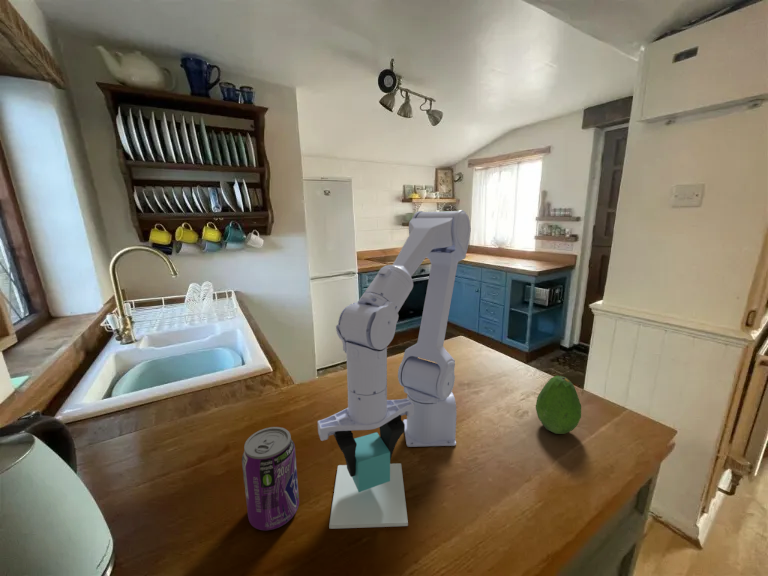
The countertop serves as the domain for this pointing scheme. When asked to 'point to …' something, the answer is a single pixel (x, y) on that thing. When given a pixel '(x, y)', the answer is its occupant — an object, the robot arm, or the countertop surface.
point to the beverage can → (270, 478)
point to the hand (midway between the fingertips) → (368, 465)
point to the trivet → (368, 502)
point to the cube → (371, 462)
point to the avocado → (558, 406)
